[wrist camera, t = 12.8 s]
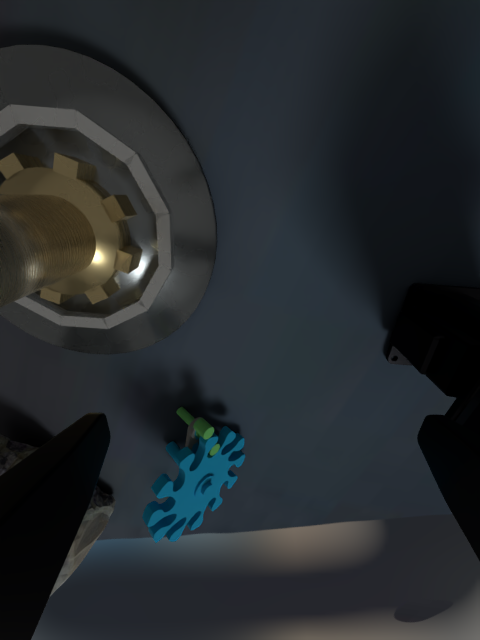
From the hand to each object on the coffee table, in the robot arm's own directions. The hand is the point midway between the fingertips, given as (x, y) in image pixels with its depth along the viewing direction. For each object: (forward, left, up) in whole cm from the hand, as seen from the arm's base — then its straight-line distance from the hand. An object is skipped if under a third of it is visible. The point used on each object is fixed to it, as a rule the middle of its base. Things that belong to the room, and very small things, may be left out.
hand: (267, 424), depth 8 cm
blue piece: (+3, +16, -13) cm, 21 cm away
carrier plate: (+12, -3, -13) cm, 18 cm away
